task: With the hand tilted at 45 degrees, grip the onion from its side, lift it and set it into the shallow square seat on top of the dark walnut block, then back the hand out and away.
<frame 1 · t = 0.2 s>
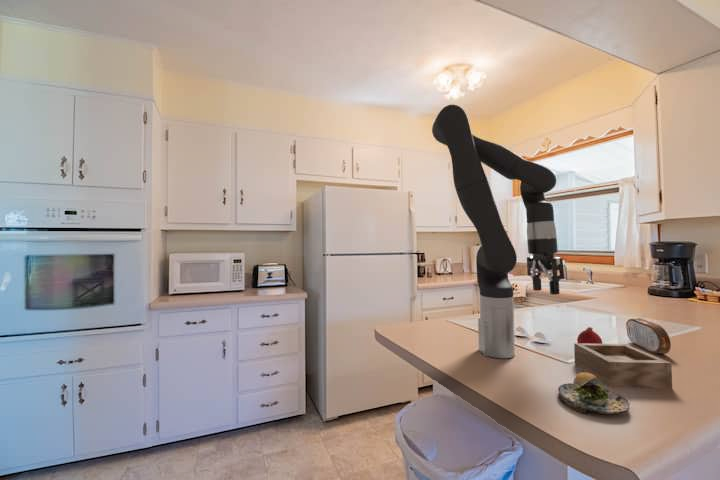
hand: (545, 292, 90), 18 cm above the countertop, tool pointing down, fingers open, 8 cm apart
walnut block: (618, 376, 75), on the countertop
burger: (592, 405, 62), on the countertop
tin: (646, 349, 93), on the countertop
onion: (589, 355, 89), on the countertop
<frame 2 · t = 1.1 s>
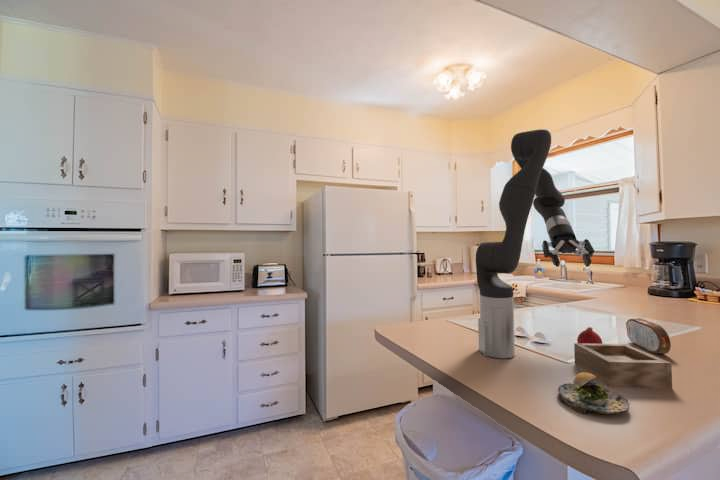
hand: (573, 265, 100), 25 cm above the countertop, tool tilted 45°, fingers open, 8 cm apart
nothing on the countertop moved.
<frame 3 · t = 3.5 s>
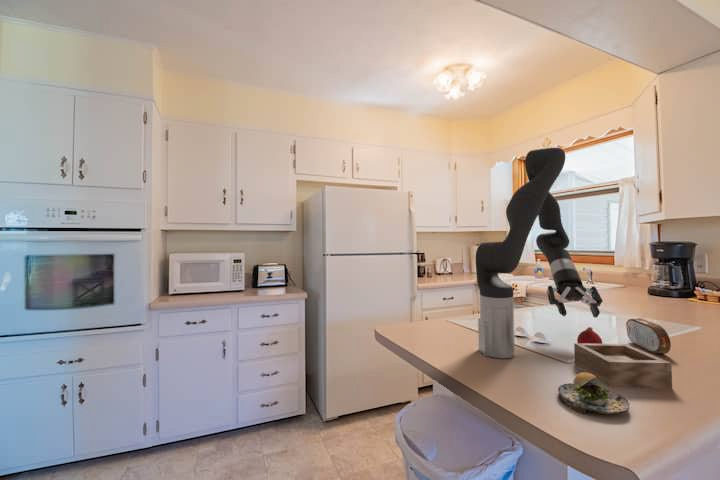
hand: (580, 315, 94), 10 cm above the countertop, tool tilted 45°, fingers open, 8 cm apart
nothing on the countertop moved.
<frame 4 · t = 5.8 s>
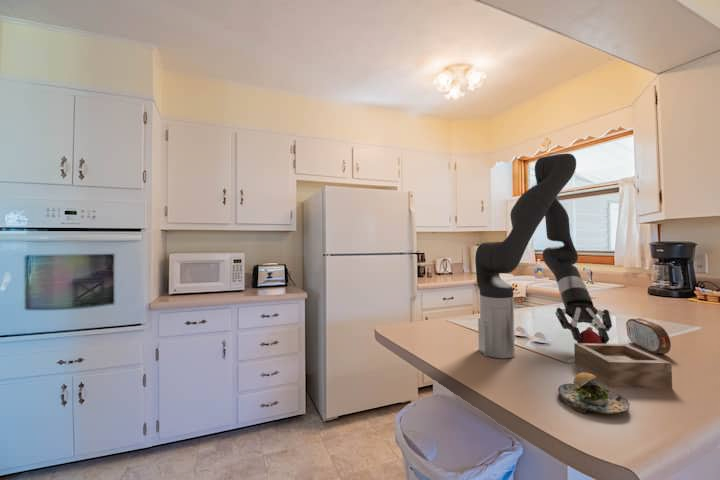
hand: (592, 341, 87), 4 cm above the countertop, tool tilted 45°, fingers closed on onion, 5 cm apart
onion: (589, 355, 89), on the countertop, touching gripper
everything else where it was.
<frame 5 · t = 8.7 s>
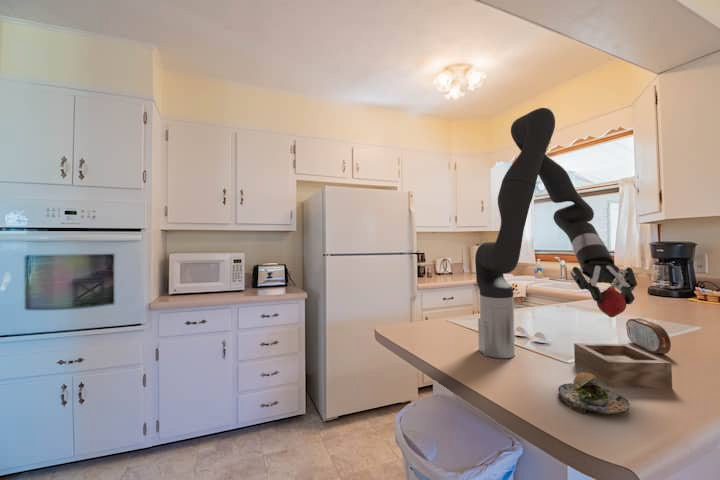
hand: (615, 301, 76), 18 cm above the countertop, tool tilted 45°, fingers closed on onion, 5 cm apart
onion: (611, 318, 78), point 13 cm above the countertop, touching gripper
everything else where it was.
when the fingers open (9 cm above the countertop, at t = 11.6 s): onion drops 1 cm, resting on walnut block.
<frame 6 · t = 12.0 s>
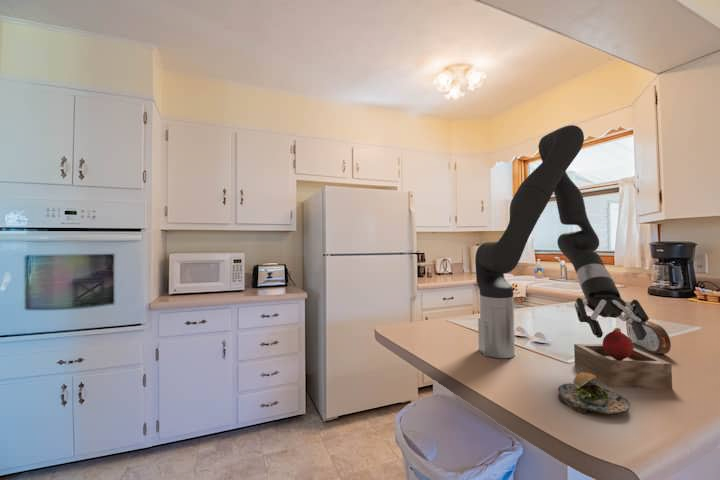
hand: (620, 337, 74), 10 cm above the countertop, tool tilted 45°, fingers open, 8 cm apart
walnut block: (618, 377, 75), on the countertop, touching onion
onion: (618, 361, 75), point 3 cm above the countertop, touching walnut block
everything else where it was.
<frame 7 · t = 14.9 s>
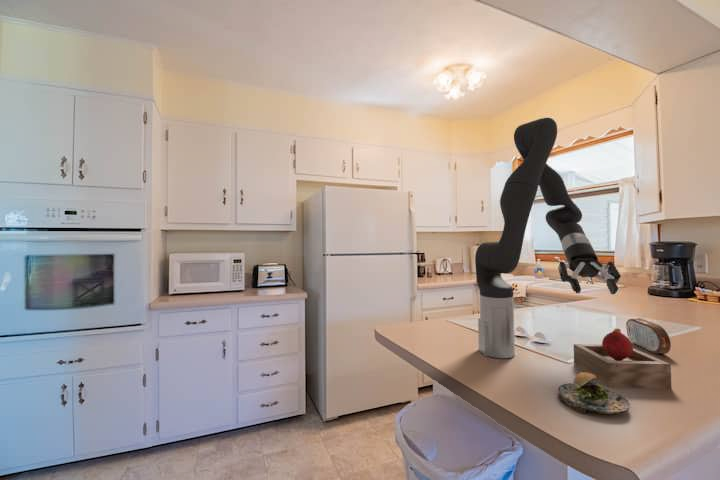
hand: (596, 292, 85), 19 cm above the countertop, tool tilted 45°, fingers open, 8 cm apart
nothing on the countertop moved.
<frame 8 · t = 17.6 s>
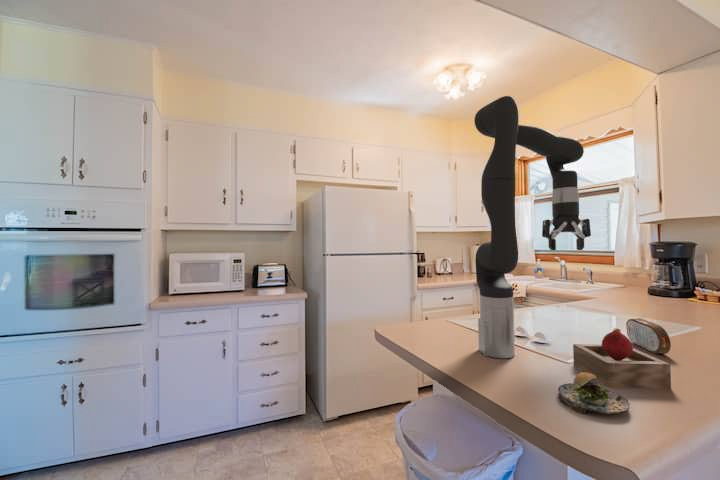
hand: (566, 250, 103), 30 cm above the countertop, tool pointing down, fingers open, 8 cm apart
nothing on the countertop moved.
at the end: onion 0.0 cm off-centre on the walnut block, point 3.8 cm above the walnut block's base; onion touching walnut block; the gripper is holding nothing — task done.
